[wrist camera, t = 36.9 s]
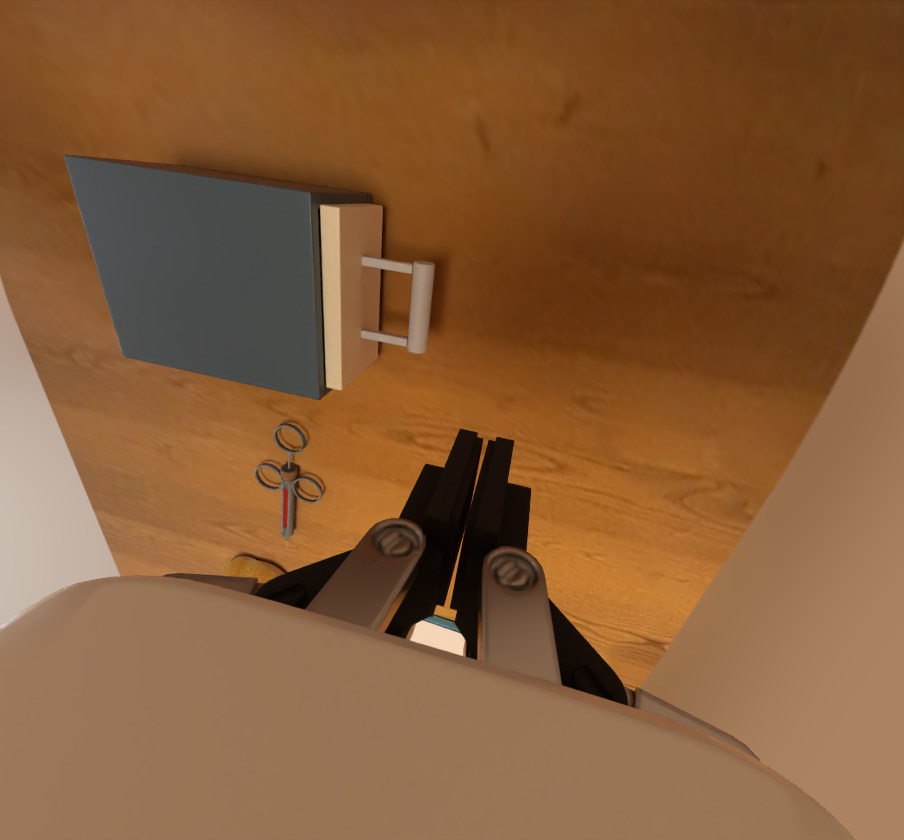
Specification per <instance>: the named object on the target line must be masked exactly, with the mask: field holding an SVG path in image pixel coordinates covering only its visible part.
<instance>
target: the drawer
mask: <svg viewBox="0 0 904 840" xmlns="http://www.w3.org/2000/svg"><path fill="white" fill-rule="evenodd" d="M382 216H383V206H381V205H375V204H368V203H367V204H324V205H320V208H318V228H319V248H320V249H321V250H322V273H321V275H322V279H323V281H322V280H320V283H322V282H323V293H322V294H321V310H322V337H323V363H325V367H326V387H327V388H332V389H336V390H343V389H344V388H345V387H346V386H347V385H348V384H349V383H351V382H352V381H353V380H354V379H355V378H356V377H357V376H358V375H359V374H361V373H362V372H363V371H364V370H365V369H366V368H367V367H368V366H369V365H371V364H372V363H373V362H374V361H375V360H376V359H377V358H378V341H380V342H385V343H390V344H395V345H400V346H405V347H407V349H408V351H410V352H412V353H417V354H422V353H425V352H426V351H427V343H428V333H429V323H430V312H431V302H432V292H433V281H434V271H435V264H434V263H432V262H427V261H414V263H408V262H402V261H396V260H390V259H384V258H381V246H382ZM381 269H385V270H390V271H396V272H402V273H408V274H412V273H413V276H412V290H411V304H410V318H409V332H408V337H407V336H402V335H397V334H392V333H387V332H381V331H379V304H380V275H381Z"/></svg>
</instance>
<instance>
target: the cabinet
mask: <svg viewBox="0 0 904 840" xmlns="http://www.w3.org/2000/svg"><path fill="white" fill-rule="evenodd" d="M64 159H65V162H66V165H67V169H68V172H69V175H70V179H71V182H72V186H73V189H74V192H75V196H76V199H77V202H78V206H79V209H80V213H81V216H82V219H83V223H84V226H85V229H86V233H87V236H88V240H89V243H90V246H91V250H92V253H93V256H94V260H95V263H96V267H97V270H98V273H99V277H100V280H101V283H102V287H103V290H104V294H105V297H106V300H107V304H108V307H109V310H110V314H111V317H112V321H113V324H114V327H115V331H116V334H117V337H118V341H119V344H120V348H121V351H122V354H123V357H127V358H131V359H136V360H140V361H145V362H149V363H154V364H158V365H163V366H167V367H172V368H176V369H181V370H185V371H190V372H194V373H199V374H203V375H208V376H212V377H217V378H221V379H226V380H230V381H235V382H239V383H244V384H248V385H253V386H258V387H262V388H267V389H271V390H276V391H280V392H285V393H289V394H294V395H298V396H303V397H307V398H312V399H316V400H320V399H321V398H323V397H324V396H325V395H326V394H328V393H329V392H330V391H331V390H332V388H327V387H326V367H325V363H323V337H322V310H321V283H320V256H319V228H318V208H320V205H324V204H367V203H368V204H372V194H371V193H364V192H357V191H350V190H344V189H337V188H330V187H324V186H317V185H310V184H303V183H297V182H290V181H283V180H277V179H270V178H263V177H256V176H250V175H243V174H236V173H230V172H223V171H216V170H209V169H203V168H196V167H189V166H183V165H174V164H163V163H152V162H141V161H130V160H119V159H108V158H97V157H86V156H74V155H64Z"/></svg>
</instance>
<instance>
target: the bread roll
mask: <svg viewBox="0 0 904 840" xmlns="http://www.w3.org/2000/svg"><path fill="white" fill-rule="evenodd" d="M282 574H285V573H284V572H283V571H281V570H280V569H279V568H277V567H276V566H274V565H272V564H270V563H267V562H263V561H257V560H256V559H254V558H251V557H245V556H242V557H238V558H236V559H234V560H233V561H231V562H230V563H229V564H228V565H227V566H226V568H225V570H224V572H223V575H222V576H234V577H250V578H258V582H259V583H266V582H268V581H269V580H271V579H273V578H275V577H277V576H280V575H282Z"/></svg>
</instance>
